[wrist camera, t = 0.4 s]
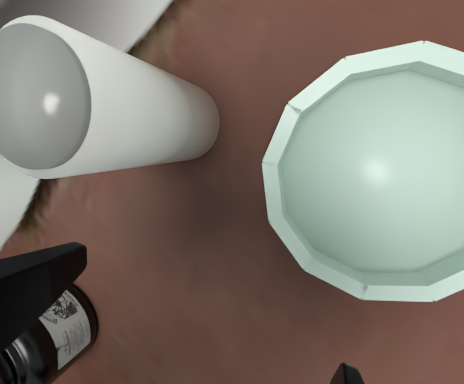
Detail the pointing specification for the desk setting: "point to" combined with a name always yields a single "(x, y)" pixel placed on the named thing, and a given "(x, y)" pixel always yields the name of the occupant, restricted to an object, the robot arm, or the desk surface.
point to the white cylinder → (92, 105)
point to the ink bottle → (50, 342)
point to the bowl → (375, 174)
